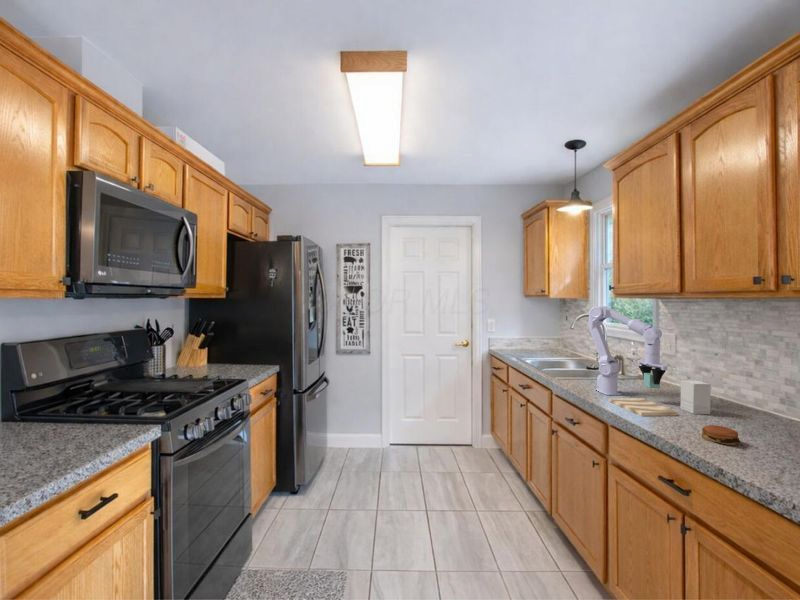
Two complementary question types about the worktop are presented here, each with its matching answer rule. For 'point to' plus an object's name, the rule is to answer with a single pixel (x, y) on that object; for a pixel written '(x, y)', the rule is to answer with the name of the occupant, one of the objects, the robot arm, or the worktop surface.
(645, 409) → the birch board
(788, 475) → the worktop surface
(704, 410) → the supplement box
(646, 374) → the teal block
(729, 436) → the burger
